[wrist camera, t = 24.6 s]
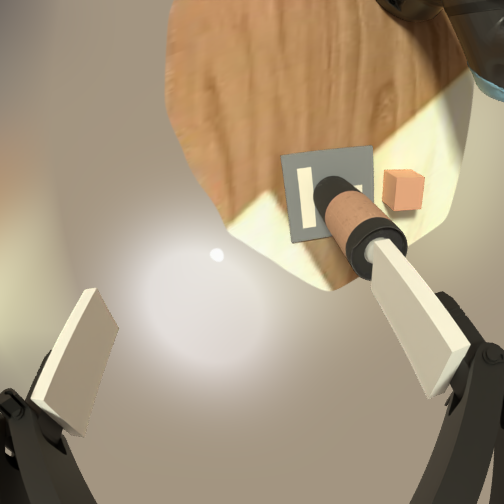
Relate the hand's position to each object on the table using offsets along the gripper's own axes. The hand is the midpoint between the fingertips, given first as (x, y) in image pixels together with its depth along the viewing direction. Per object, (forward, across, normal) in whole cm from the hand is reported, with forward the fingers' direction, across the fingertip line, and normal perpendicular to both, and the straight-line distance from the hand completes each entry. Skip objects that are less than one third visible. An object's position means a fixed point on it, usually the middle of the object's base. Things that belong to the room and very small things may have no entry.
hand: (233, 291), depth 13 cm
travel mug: (+36, +15, -11) cm, 41 cm away
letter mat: (+37, +15, -11) cm, 41 cm away
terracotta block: (+37, +28, -11) cm, 48 cm away
